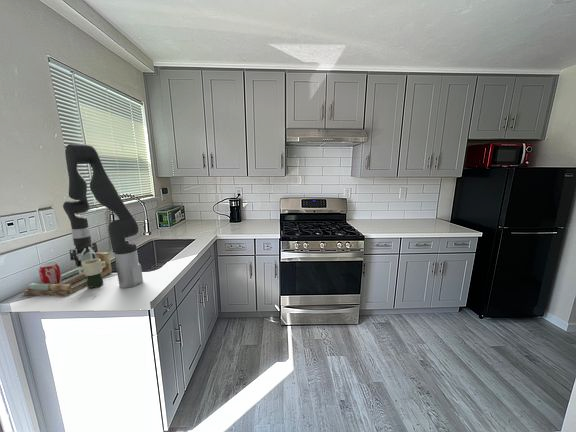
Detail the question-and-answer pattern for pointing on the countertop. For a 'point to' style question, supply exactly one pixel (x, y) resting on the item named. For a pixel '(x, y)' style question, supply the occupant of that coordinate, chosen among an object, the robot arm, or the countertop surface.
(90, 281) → the character mug
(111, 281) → the countertop surface
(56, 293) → the frame
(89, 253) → the sage sled
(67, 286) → the oak sled
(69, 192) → the robot arm
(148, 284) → the countertop surface
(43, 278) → the soda can
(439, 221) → the countertop surface
